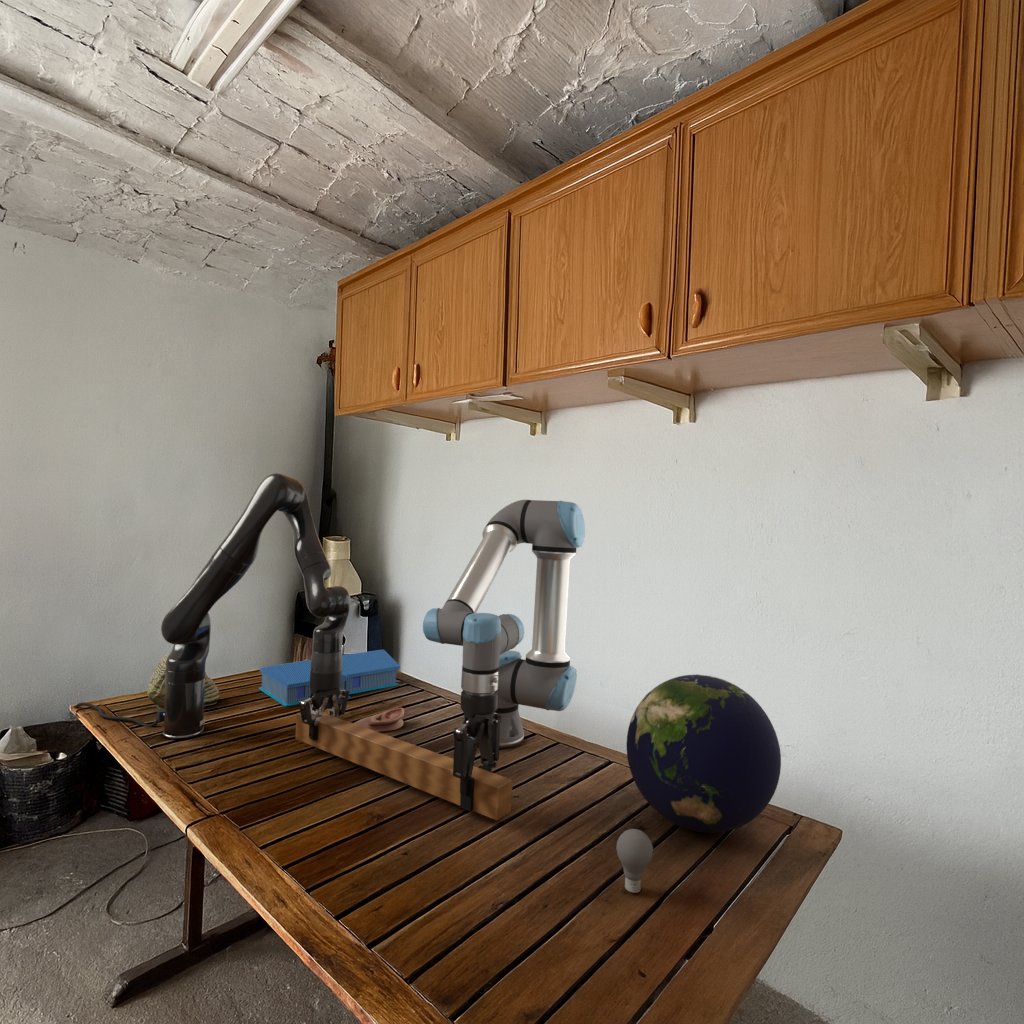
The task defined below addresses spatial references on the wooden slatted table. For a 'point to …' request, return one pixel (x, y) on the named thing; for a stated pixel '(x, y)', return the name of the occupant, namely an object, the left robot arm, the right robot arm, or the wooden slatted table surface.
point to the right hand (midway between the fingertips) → (475, 802)
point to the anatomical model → (383, 720)
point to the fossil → (158, 687)
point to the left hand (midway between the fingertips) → (323, 736)
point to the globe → (703, 753)
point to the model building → (357, 677)
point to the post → (408, 764)
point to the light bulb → (634, 857)
